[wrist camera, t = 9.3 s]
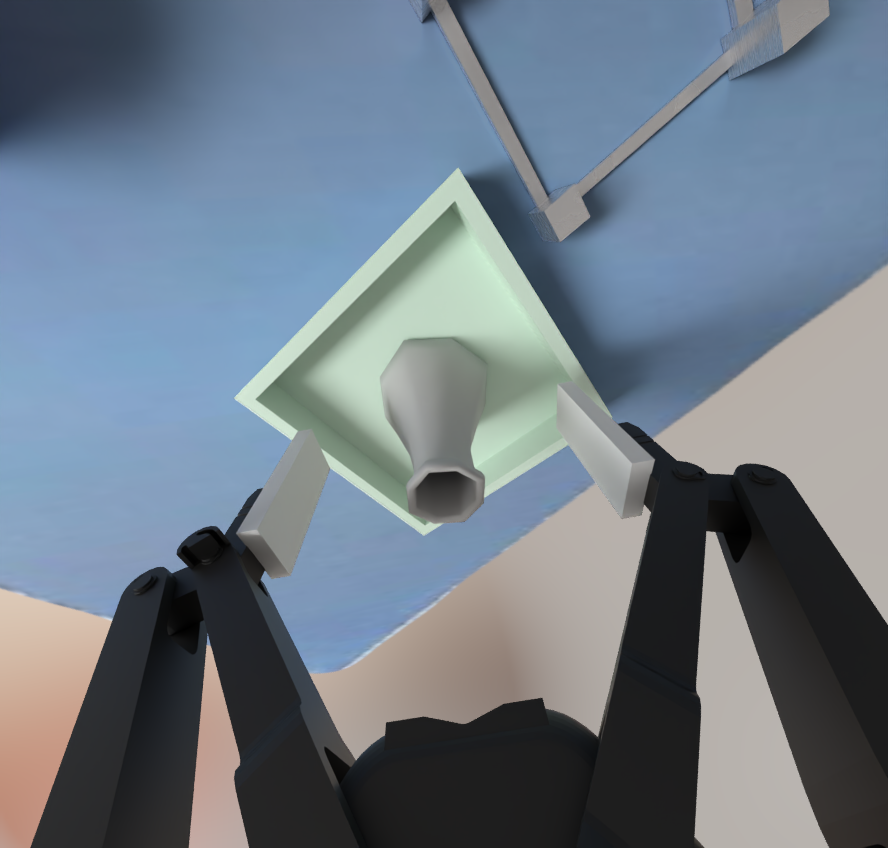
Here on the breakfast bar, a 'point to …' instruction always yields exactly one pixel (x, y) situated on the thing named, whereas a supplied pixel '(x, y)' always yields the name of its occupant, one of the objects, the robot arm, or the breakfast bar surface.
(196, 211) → the breakfast bar surface
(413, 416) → the flask
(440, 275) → the bin
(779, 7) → the socket
